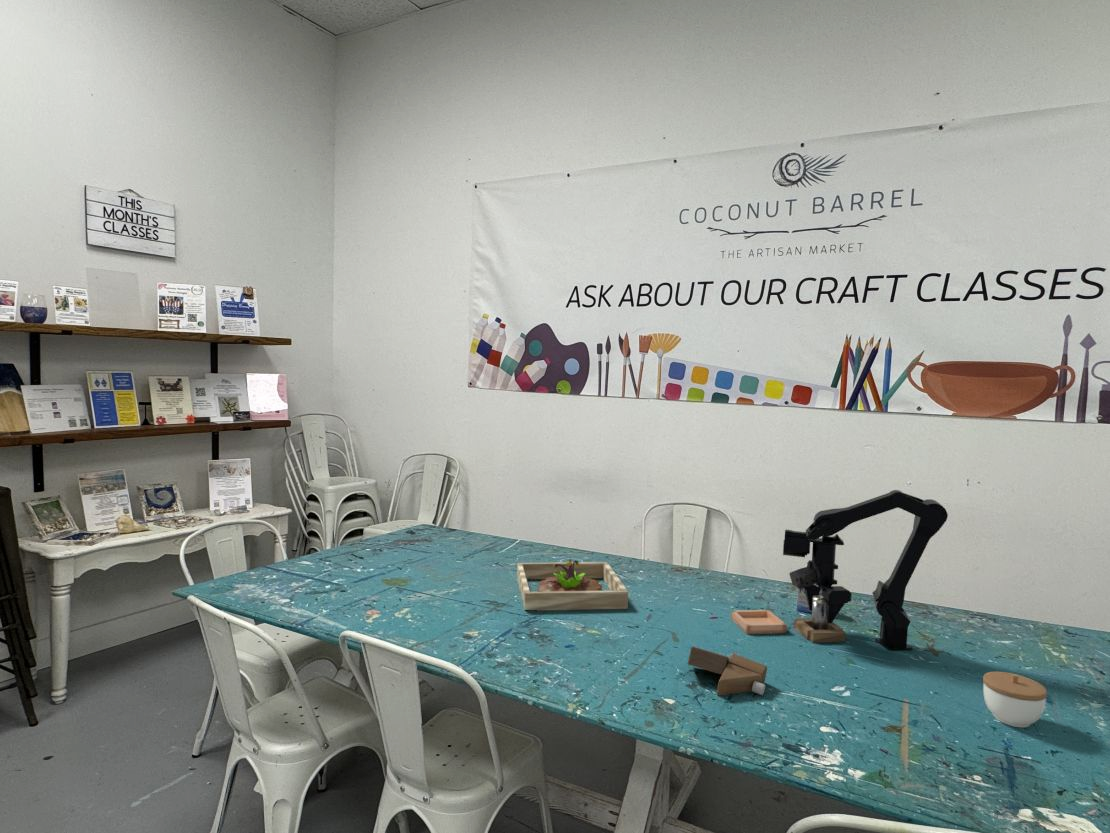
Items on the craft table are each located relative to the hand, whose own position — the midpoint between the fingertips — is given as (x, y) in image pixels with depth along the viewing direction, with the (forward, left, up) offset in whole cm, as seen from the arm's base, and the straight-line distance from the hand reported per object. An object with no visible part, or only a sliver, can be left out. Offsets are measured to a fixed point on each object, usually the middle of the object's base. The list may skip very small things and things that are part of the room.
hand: (820, 616), depth 179 cm
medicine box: (+17, -7, -5) cm, 19 cm away
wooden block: (-25, +37, -5) cm, 45 cm away
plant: (+37, +62, -6) cm, 73 cm away
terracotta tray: (+7, +14, -5) cm, 16 cm away
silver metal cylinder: (0, 0, -5) cm, 5 cm away
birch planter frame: (+37, +62, -5) cm, 72 cm away
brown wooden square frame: (0, 0, -5) cm, 5 cm away
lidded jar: (-45, -17, -5) cm, 48 cm away
